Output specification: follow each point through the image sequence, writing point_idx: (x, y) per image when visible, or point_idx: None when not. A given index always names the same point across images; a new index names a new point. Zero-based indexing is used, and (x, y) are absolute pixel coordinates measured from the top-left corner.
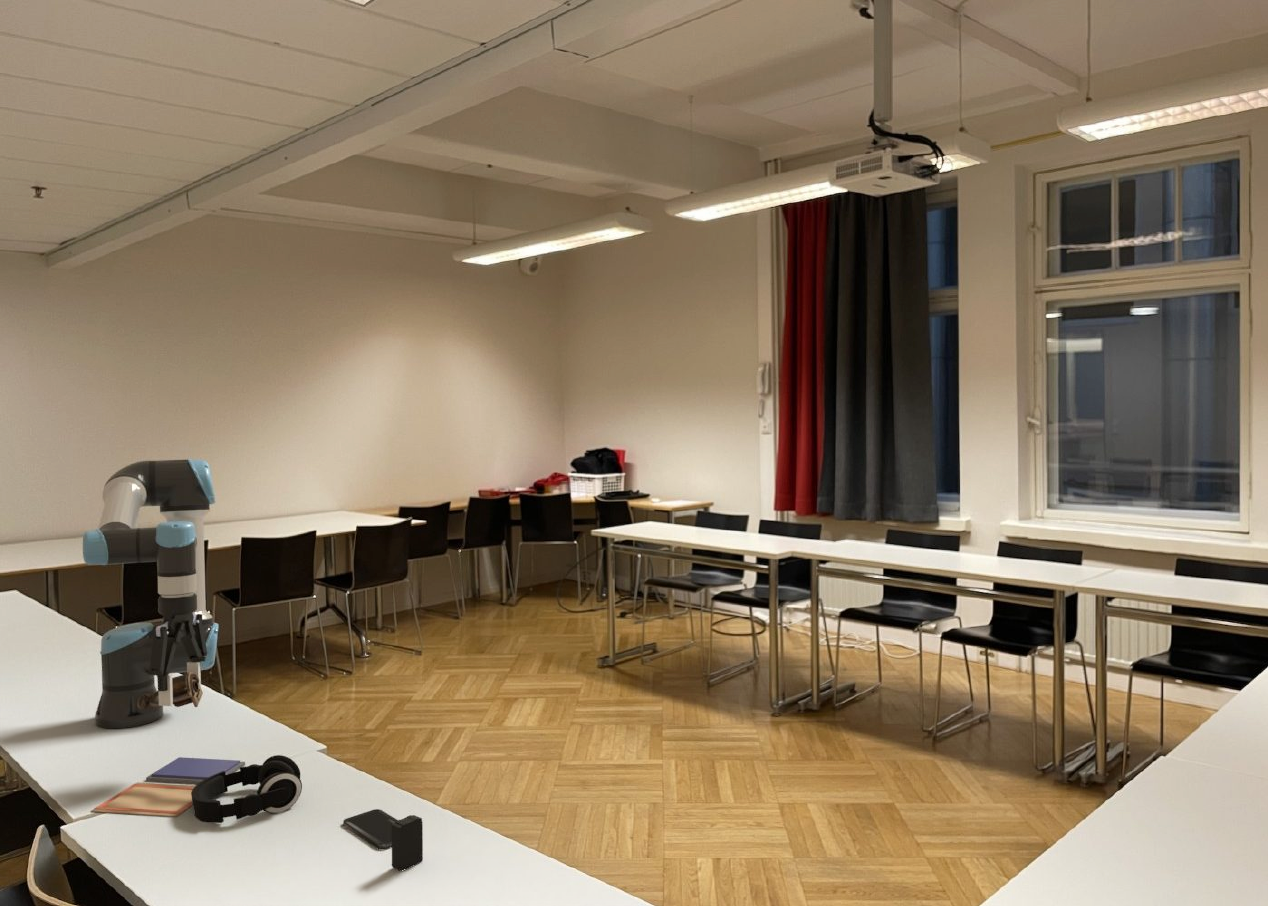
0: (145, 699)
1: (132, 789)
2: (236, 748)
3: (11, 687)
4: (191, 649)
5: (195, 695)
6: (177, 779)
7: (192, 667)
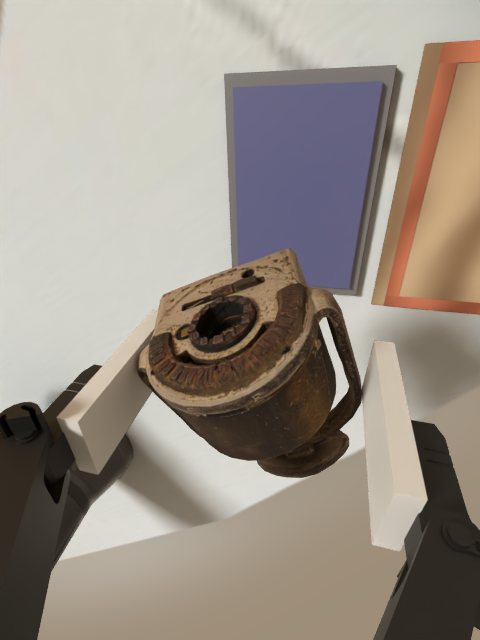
0: (312, 455)
1: (418, 293)
2: (129, 184)
3: (71, 556)
4: (28, 559)
5: (268, 286)
6: (370, 211)
7: (105, 427)
